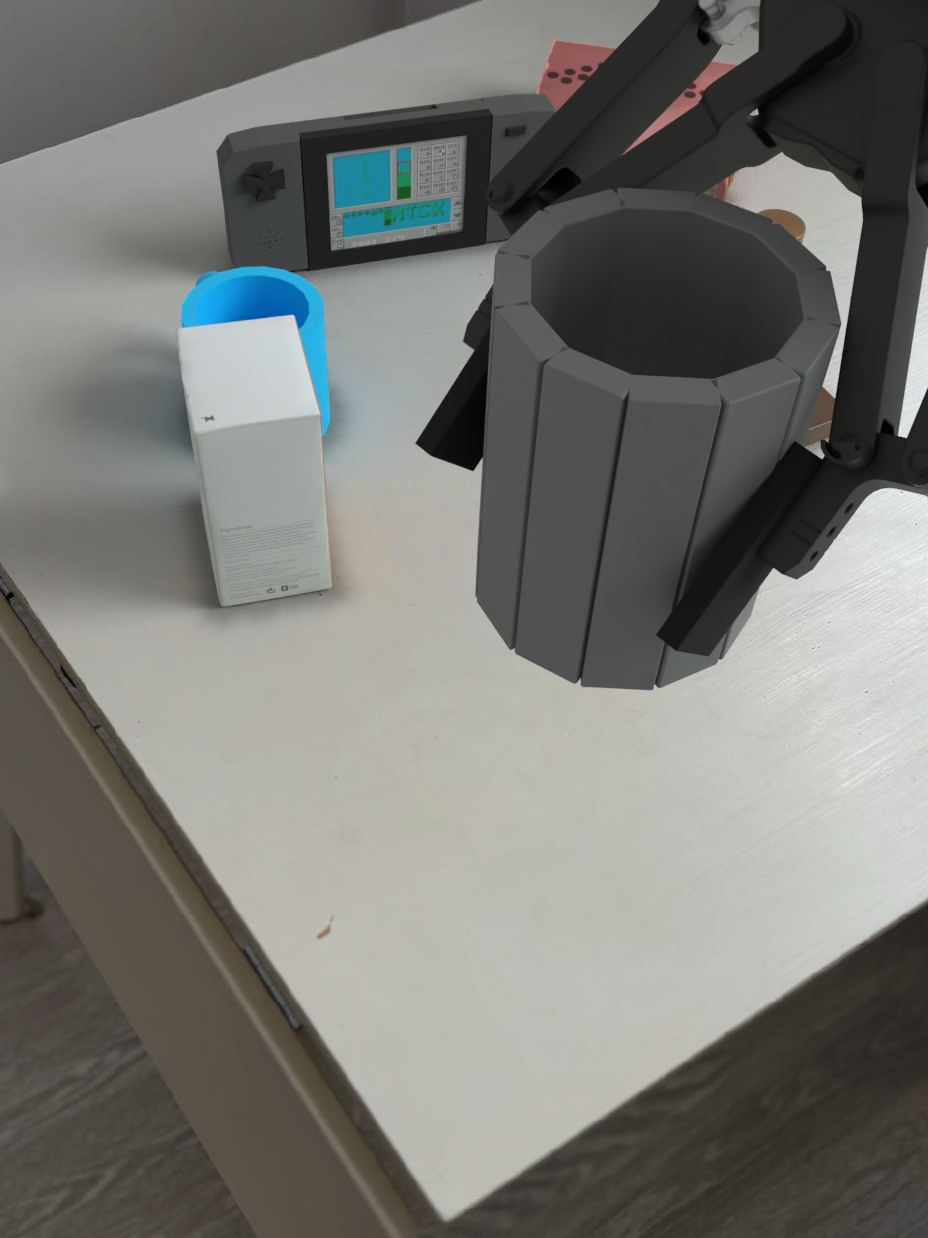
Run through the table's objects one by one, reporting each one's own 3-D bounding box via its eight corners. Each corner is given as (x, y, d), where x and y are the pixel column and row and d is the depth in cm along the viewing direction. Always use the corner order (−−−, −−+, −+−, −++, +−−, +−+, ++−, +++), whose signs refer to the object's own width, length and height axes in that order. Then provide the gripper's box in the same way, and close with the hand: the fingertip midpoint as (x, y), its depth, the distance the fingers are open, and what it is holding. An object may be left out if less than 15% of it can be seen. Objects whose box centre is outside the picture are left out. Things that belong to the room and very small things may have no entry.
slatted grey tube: (804, 627, 45) (909, 339, 35) (564, 730, 42) (609, 446, 32) (653, 451, 50) (710, 158, 40) (429, 532, 47) (434, 237, 37)
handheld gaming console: (236, 285, 92) (220, 153, 84) (229, 261, 94) (213, 129, 86) (555, 237, 97) (568, 107, 89) (543, 215, 98) (555, 85, 90)
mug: (354, 433, 83) (350, 326, 77) (234, 480, 80) (219, 374, 74) (265, 324, 89) (254, 217, 83) (150, 365, 86) (129, 258, 80)
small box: (334, 591, 75) (323, 415, 65) (219, 610, 74) (190, 433, 64) (309, 488, 80) (295, 310, 70) (201, 505, 79) (171, 326, 69)
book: (724, 231, 98) (737, 170, 94) (516, 201, 99) (520, 139, 95) (739, 126, 107) (751, 66, 103) (547, 99, 108) (553, 39, 104)
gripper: (1425, 86, 34) (882, 776, 40) (750, -192, 44) (387, 389, 49) (1467, -68, 28) (811, 781, 33) (665, -354, 38) (258, 335, 43)
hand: (557, 546), depth 41 cm, fingers closed on slatted grey tube, 9 cm apart
